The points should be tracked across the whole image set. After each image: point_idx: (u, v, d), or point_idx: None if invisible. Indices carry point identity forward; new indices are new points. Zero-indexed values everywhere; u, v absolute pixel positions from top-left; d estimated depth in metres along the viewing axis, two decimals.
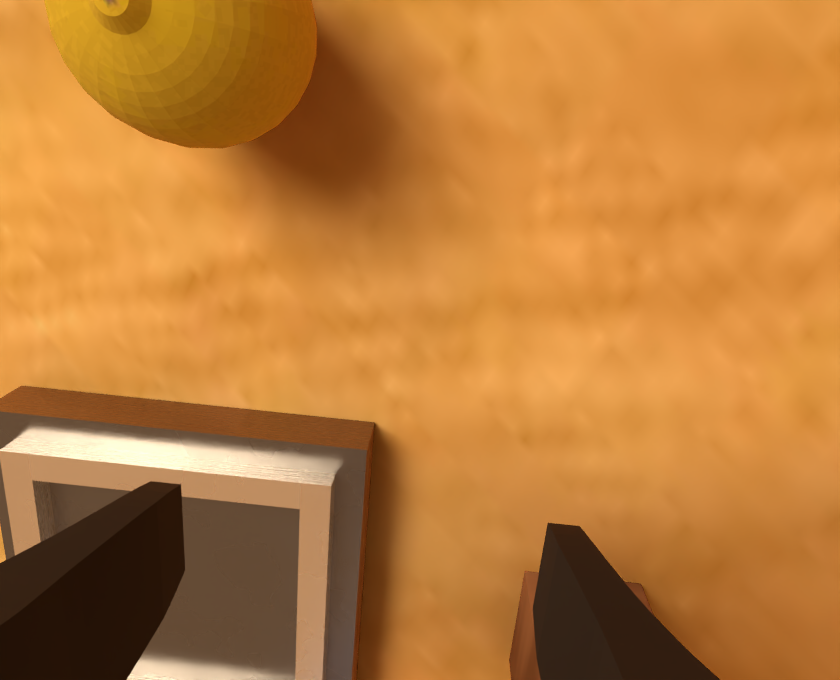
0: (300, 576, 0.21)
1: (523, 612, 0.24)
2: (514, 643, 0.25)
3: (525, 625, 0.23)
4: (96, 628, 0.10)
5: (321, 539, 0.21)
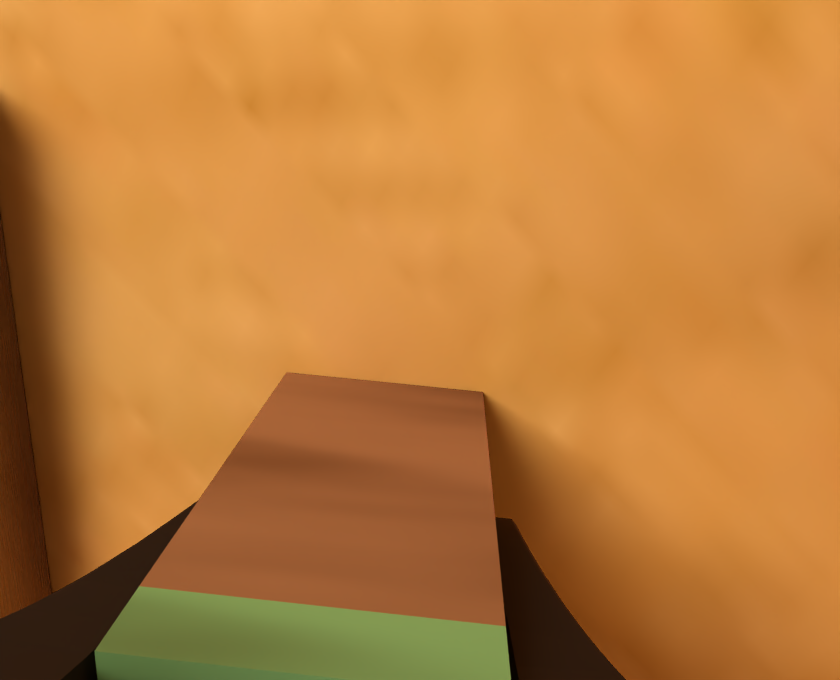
0: None
1: None
2: None
3: None
4: None
5: None
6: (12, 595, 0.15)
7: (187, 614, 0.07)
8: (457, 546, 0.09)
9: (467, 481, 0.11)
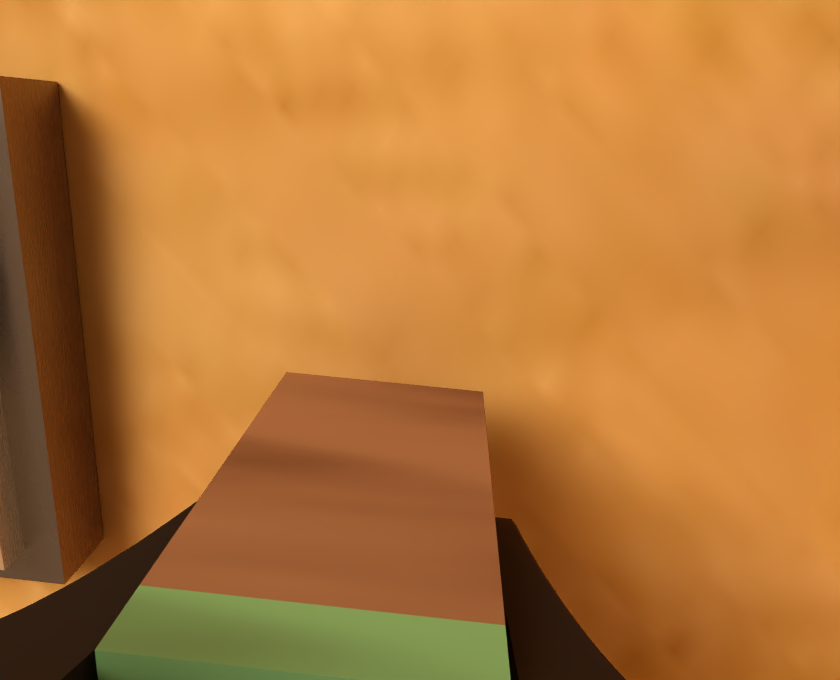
0: None
1: None
2: None
3: None
4: None
5: None
6: (73, 529, 0.17)
7: (187, 613, 0.07)
8: (457, 545, 0.09)
9: (466, 480, 0.11)
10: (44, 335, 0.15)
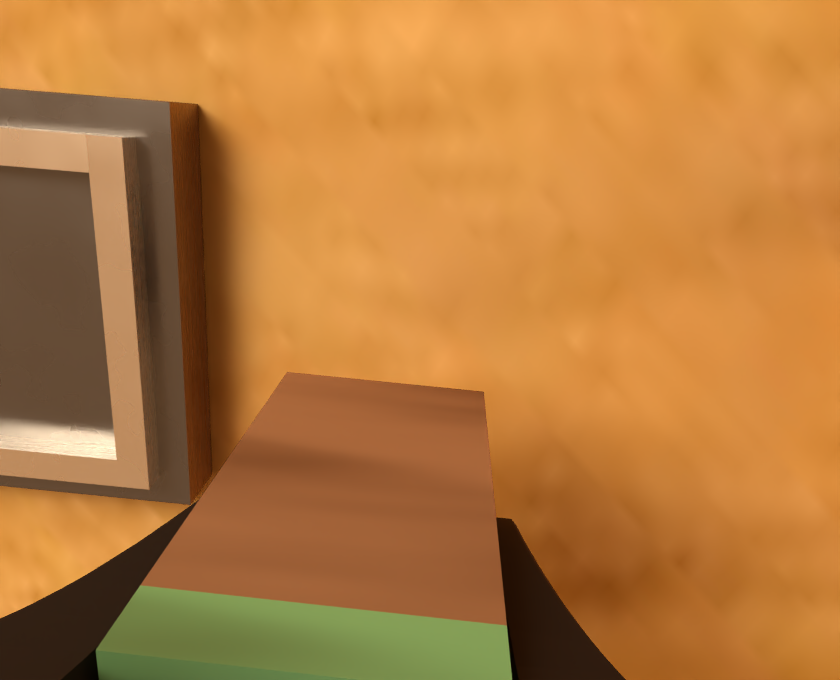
0: (101, 269, 0.18)
1: None
2: None
3: None
4: None
5: (119, 215, 0.17)
6: (196, 461, 0.22)
7: (188, 613, 0.07)
8: (458, 545, 0.09)
9: (467, 481, 0.11)
10: (185, 301, 0.20)
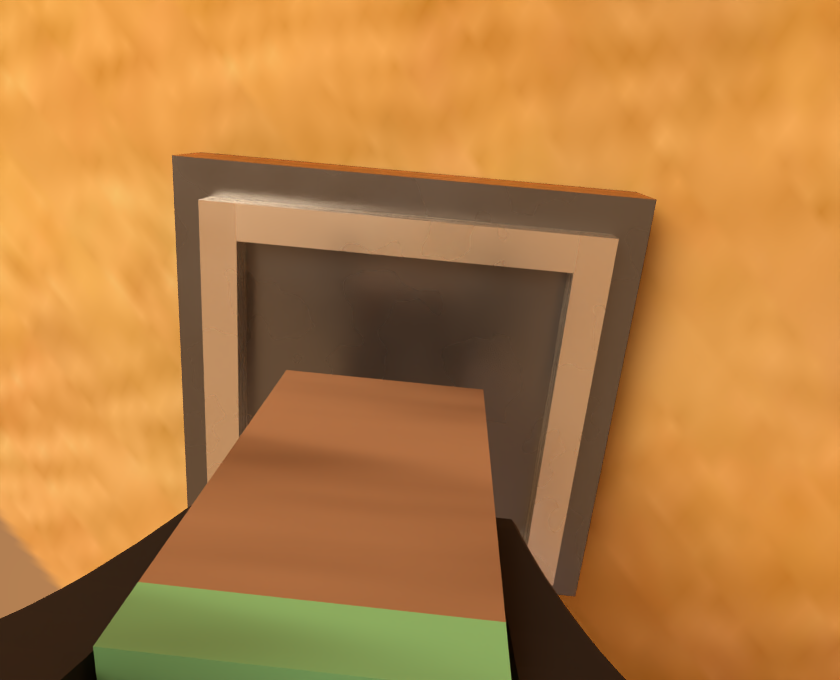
0: (560, 368, 0.17)
1: None
2: None
3: None
4: None
5: (595, 315, 0.17)
6: None
7: (186, 610, 0.07)
8: (457, 542, 0.09)
9: (467, 478, 0.11)
10: None
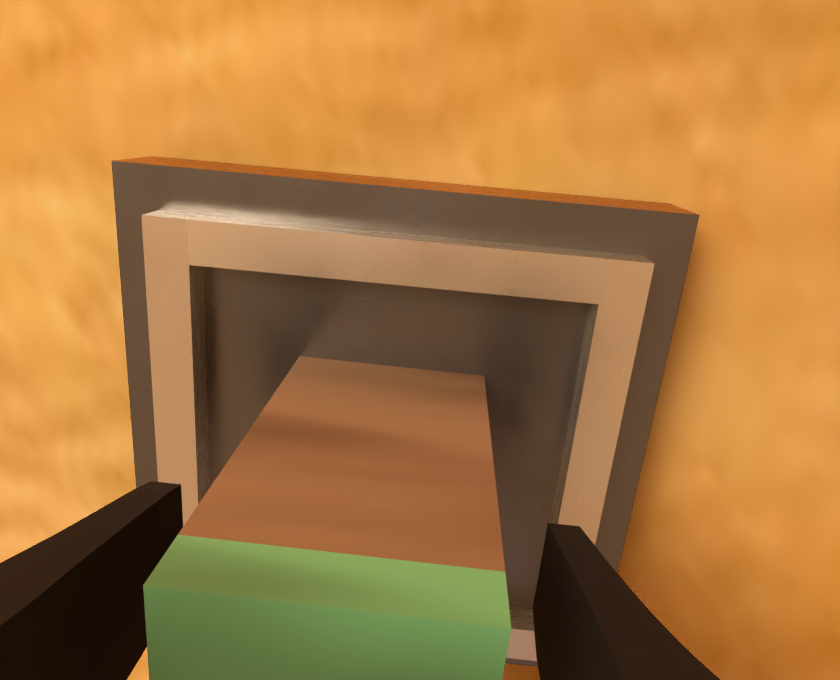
0: (581, 417, 0.14)
1: None
2: None
3: None
4: (96, 628, 0.10)
5: (624, 354, 0.14)
6: None
7: (222, 557, 0.08)
8: (461, 506, 0.10)
9: (470, 452, 0.11)
10: None
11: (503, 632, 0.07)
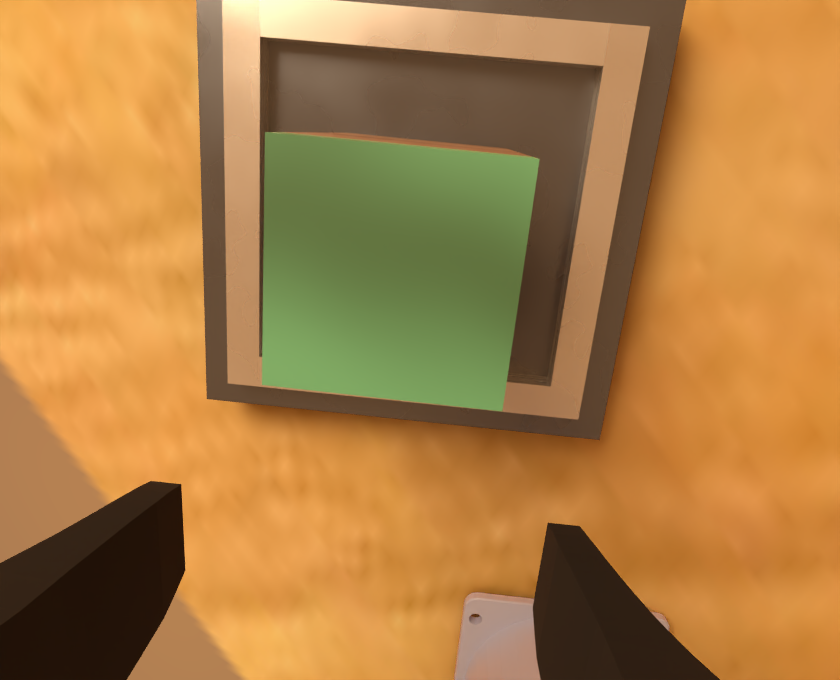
0: (589, 173, 0.17)
1: None
2: None
3: None
4: (96, 628, 0.10)
5: (624, 113, 0.16)
6: None
7: (318, 136, 0.11)
8: (495, 151, 0.12)
9: None
10: None
11: (533, 162, 0.10)
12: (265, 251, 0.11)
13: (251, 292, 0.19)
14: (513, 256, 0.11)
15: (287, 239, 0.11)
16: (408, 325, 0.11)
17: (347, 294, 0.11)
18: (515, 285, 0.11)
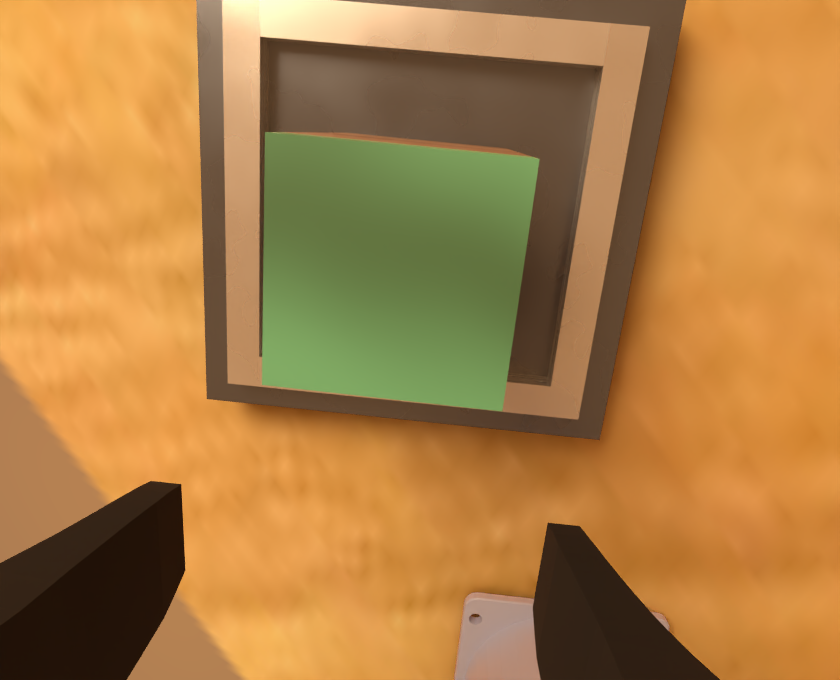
0: (589, 173, 0.17)
1: None
2: None
3: None
4: (96, 628, 0.10)
5: (625, 113, 0.16)
6: None
7: (318, 136, 0.11)
8: (495, 151, 0.12)
9: None
10: None
11: (533, 162, 0.10)
12: (265, 251, 0.11)
13: (251, 292, 0.19)
14: (513, 256, 0.11)
15: (287, 239, 0.11)
16: (408, 325, 0.11)
17: (347, 294, 0.11)
18: (515, 285, 0.11)
